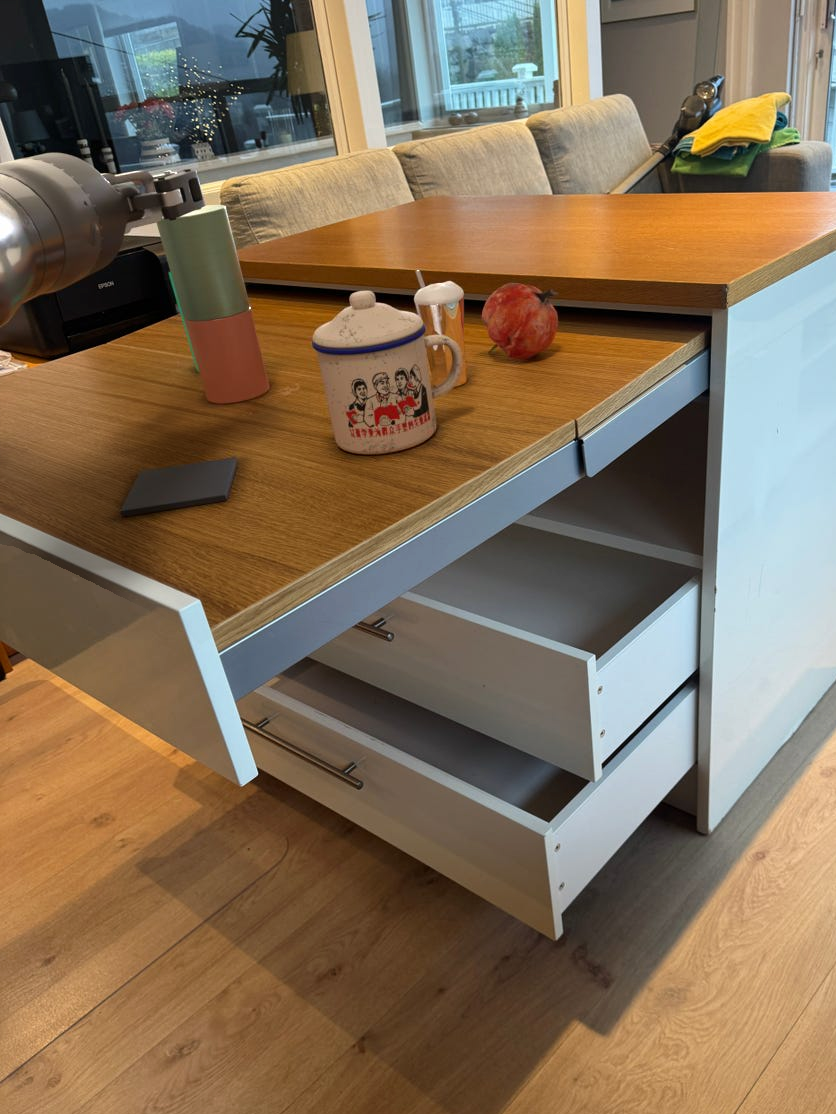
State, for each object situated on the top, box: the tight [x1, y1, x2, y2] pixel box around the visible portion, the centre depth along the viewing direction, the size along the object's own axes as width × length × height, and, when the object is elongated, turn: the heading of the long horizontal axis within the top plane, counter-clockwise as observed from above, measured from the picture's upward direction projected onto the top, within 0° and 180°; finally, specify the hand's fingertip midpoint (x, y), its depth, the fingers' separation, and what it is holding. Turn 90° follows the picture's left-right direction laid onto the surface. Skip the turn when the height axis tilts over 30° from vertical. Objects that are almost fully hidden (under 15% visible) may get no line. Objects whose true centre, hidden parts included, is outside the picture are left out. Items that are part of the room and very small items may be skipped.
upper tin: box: [156, 204, 251, 321], centre depth 85 cm, size 6×6×9 cm
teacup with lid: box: [311, 290, 462, 455], centre depth 73 cm, size 12×9×12 cm
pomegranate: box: [481, 282, 559, 360], centre depth 89 cm, size 7×7×10 cm
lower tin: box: [184, 307, 271, 405], centre depth 89 cm, size 6×6×8 cm
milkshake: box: [413, 269, 467, 388], centre depth 84 cm, size 4×5×10 cm
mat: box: [119, 456, 239, 518], centre depth 71 cm, size 8×8×1 cm
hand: (134, 191), depth 71 cm, fingers open, 8 cm apart
